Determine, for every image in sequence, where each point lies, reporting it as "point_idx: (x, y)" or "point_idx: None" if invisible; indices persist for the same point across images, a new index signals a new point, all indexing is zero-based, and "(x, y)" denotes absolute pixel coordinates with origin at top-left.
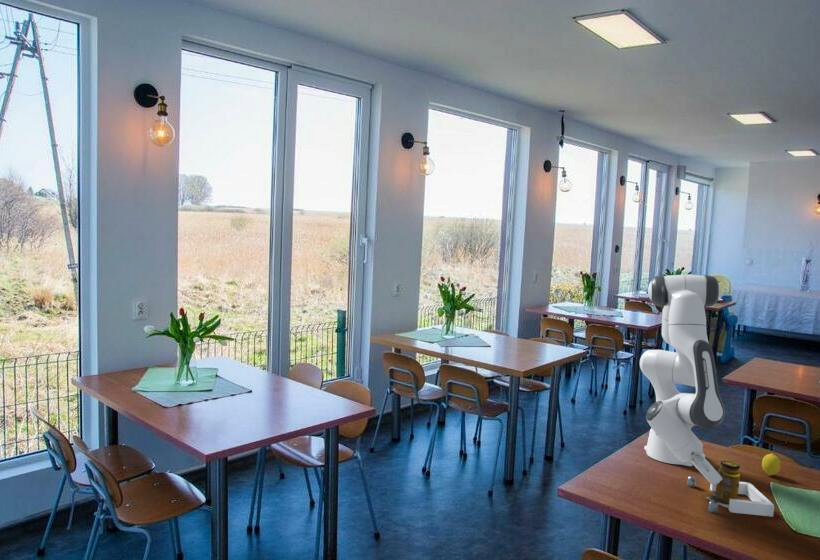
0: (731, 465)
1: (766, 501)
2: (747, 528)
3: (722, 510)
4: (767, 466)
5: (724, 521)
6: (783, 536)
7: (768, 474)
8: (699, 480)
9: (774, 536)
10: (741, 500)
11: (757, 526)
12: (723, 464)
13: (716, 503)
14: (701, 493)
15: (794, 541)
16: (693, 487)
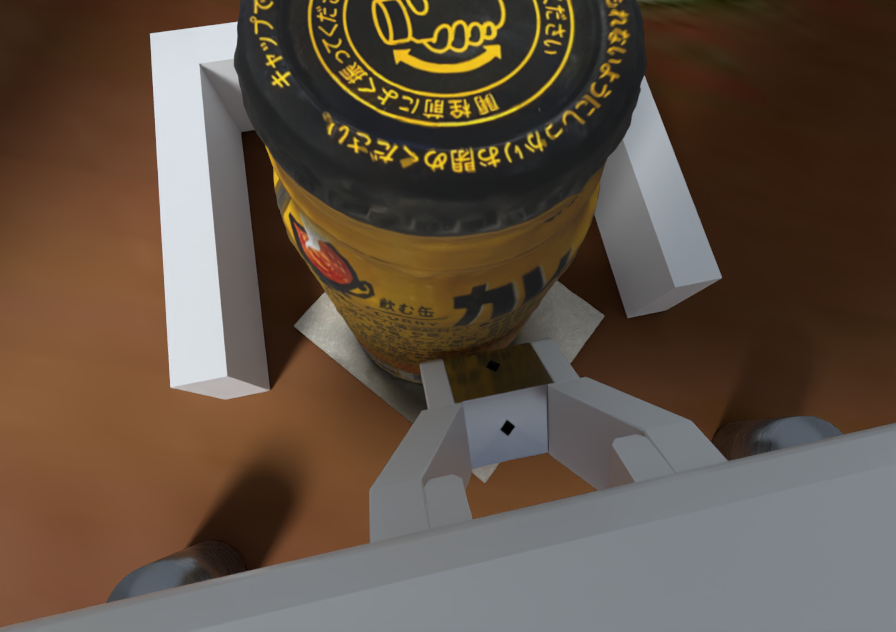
0: (556, 18)
1: None
2: (885, 247)
3: (662, 367)
4: None
5: (875, 389)
6: (853, 64)
7: None
8: (18, 468)
9: (891, 112)
10: (653, 190)
11: (803, 176)
12: (564, 181)
13: (832, 435)
14: (363, 496)
15: (882, 26)
16: (242, 561)
